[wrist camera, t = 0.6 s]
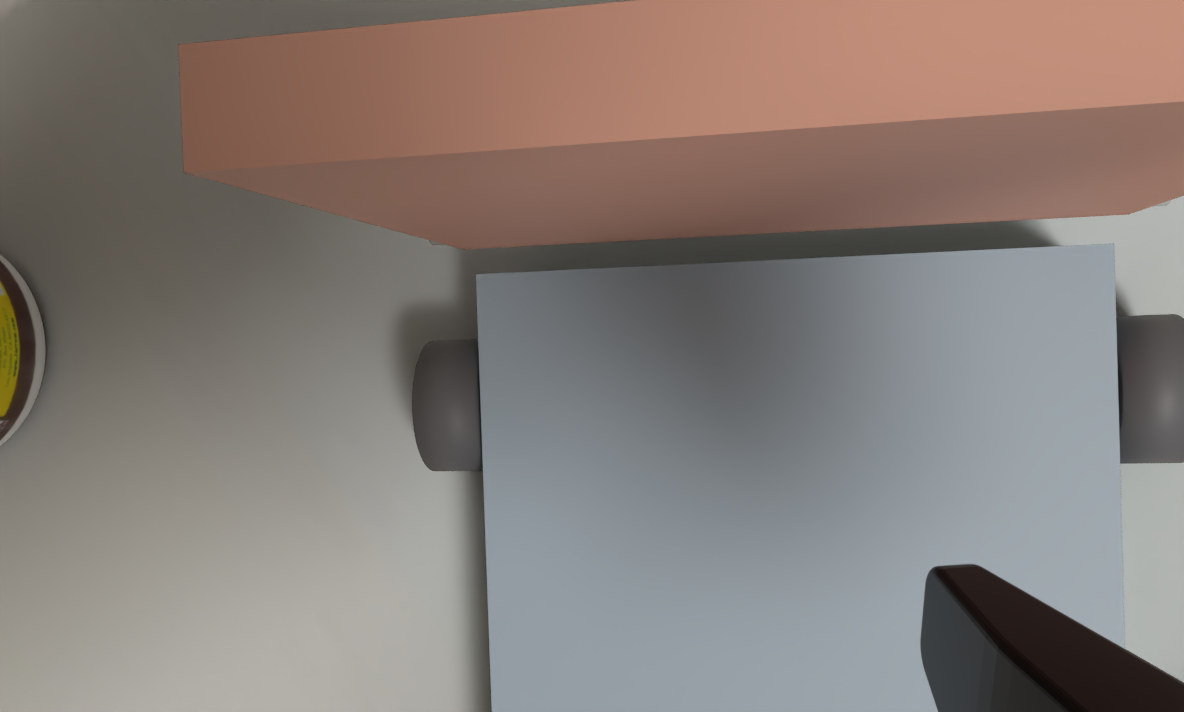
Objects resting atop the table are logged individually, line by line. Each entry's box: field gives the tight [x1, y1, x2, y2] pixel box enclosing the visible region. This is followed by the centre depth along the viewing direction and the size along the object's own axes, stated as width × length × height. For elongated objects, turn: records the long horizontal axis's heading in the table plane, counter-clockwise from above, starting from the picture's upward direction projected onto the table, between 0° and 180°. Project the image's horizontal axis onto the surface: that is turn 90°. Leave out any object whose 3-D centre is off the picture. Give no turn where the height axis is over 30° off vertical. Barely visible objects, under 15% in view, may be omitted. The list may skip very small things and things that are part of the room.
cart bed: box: [412, 244, 1184, 712], centre depth 19 cm, size 14×14×3 cm
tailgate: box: [178, 0, 1184, 249], centre depth 13 cm, size 1×12×9 cm, turn 92°
